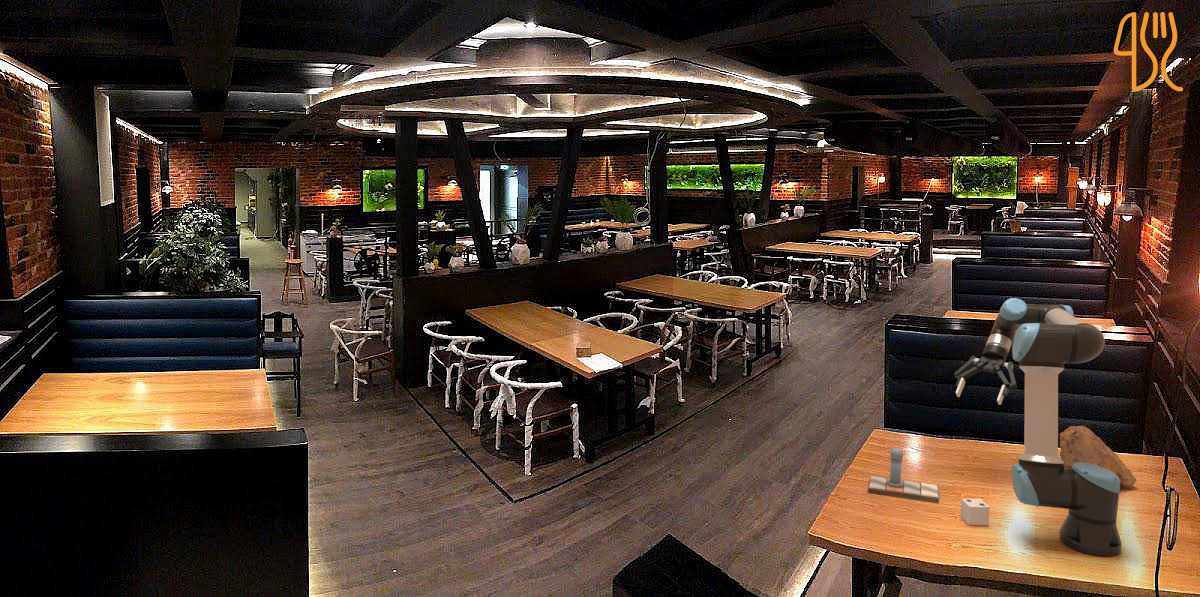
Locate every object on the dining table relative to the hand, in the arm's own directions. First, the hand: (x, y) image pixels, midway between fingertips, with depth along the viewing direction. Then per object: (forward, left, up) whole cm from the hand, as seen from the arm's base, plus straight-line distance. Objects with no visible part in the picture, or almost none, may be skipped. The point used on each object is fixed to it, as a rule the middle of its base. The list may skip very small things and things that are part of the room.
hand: (977, 398), depth 253 cm
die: (-32, +1, -31) cm, 44 cm away
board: (-16, +22, -31) cm, 41 cm away
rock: (+24, -41, -31) cm, 57 cm away
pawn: (-16, +25, -29) cm, 42 cm away
